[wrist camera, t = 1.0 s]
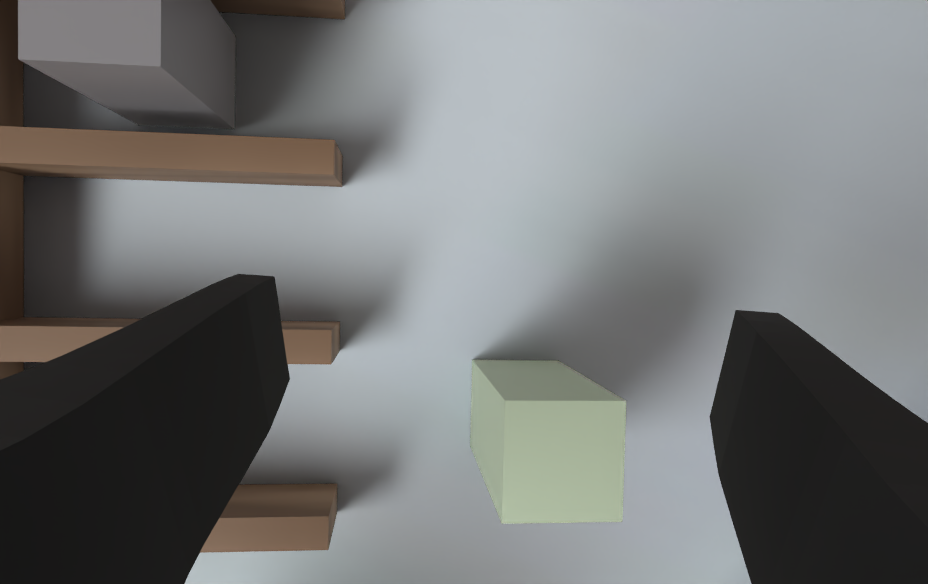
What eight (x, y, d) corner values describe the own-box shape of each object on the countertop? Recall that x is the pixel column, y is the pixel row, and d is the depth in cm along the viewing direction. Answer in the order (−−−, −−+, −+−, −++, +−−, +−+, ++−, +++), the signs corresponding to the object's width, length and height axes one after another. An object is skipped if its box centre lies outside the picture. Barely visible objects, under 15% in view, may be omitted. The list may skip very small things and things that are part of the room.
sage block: (555, 445, 24) (622, 522, 17) (470, 446, 23) (502, 524, 16) (557, 360, 23) (625, 401, 16) (472, 359, 23) (504, 400, 16)
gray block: (234, 129, 22) (160, 66, 15) (139, 125, 22) (17, 59, 15) (235, 36, 22) (161, -70, 15) (139, 31, 22) (17, -81, 15)
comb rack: (336, 512, 23) (327, 549, 20) (-26, 518, 22) (-93, 558, 19) (345, -12, 22) (337, -55, 19) (-29, -36, 21) (-98, -86, 18)
